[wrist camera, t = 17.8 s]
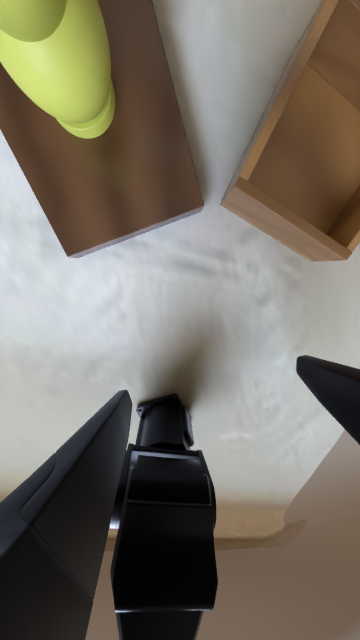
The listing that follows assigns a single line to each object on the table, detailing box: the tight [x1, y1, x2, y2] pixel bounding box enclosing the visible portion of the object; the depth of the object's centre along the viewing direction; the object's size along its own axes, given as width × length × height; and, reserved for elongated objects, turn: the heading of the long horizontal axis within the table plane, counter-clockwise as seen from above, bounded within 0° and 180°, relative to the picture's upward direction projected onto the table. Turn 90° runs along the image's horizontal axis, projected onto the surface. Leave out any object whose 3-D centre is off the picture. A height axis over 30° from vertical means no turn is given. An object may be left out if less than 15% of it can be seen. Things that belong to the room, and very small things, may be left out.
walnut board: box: [0, 0, 203, 258], centre depth 14 cm, size 14×20×2 cm
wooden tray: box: [220, 0, 360, 261], centre depth 15 cm, size 13×13×4 cm
